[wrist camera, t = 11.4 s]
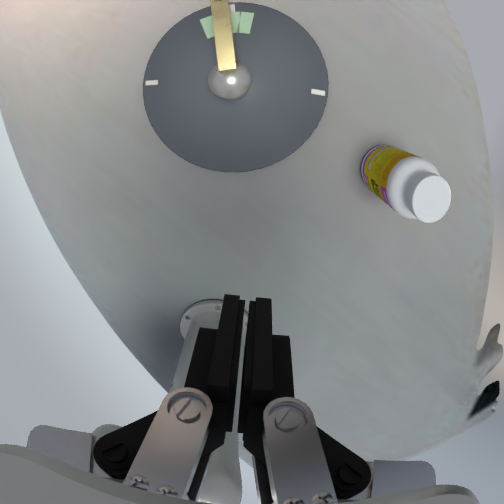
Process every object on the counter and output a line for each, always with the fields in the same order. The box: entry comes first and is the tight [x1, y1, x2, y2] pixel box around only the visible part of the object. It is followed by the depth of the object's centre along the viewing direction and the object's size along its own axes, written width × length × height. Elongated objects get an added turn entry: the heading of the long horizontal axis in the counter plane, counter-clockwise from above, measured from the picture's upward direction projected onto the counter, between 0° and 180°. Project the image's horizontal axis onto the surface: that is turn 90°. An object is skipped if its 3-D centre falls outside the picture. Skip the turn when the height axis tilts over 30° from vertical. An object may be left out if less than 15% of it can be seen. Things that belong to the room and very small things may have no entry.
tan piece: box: [208, 0, 252, 100], centre depth 24 cm, size 13×4×4 cm, turn 6°
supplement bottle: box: [361, 145, 451, 223], centre depth 28 cm, size 7×7×13 cm
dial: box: [143, 3, 328, 172], centre depth 29 cm, size 22×22×1 cm
